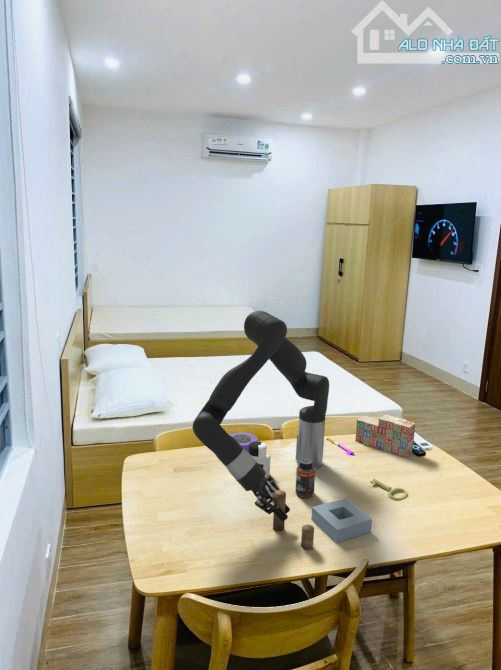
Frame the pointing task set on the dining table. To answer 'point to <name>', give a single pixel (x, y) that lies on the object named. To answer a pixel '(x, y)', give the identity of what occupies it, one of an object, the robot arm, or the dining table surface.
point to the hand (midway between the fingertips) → (286, 515)
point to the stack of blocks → (387, 434)
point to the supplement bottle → (305, 478)
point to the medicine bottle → (260, 455)
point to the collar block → (342, 529)
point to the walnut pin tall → (281, 501)
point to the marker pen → (342, 447)
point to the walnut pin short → (307, 537)
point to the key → (391, 490)
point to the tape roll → (244, 439)
